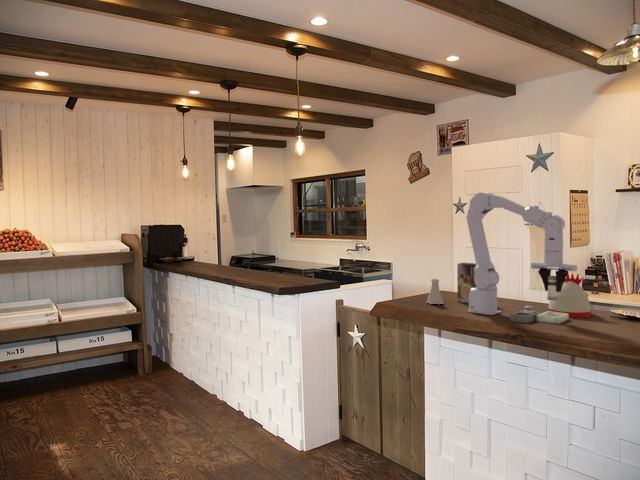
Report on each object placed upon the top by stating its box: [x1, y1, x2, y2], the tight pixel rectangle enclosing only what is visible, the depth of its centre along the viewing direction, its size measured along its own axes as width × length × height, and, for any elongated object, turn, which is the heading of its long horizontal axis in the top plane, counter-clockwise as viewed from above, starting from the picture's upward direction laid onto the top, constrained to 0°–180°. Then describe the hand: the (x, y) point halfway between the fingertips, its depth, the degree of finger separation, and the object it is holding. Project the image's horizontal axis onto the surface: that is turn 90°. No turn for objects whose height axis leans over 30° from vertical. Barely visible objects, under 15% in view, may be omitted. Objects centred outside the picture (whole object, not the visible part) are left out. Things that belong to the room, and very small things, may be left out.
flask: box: [425, 278, 445, 306], centre depth 203 cm, size 7×7×10 cm
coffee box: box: [456, 262, 477, 304], centre depth 206 cm, size 9×6×16 cm
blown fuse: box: [546, 275, 558, 301], centre depth 169 cm, size 3×3×8 cm
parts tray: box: [535, 310, 570, 325], centre depth 169 cm, size 7×10×2 cm
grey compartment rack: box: [509, 305, 542, 324], centre depth 171 cm, size 6×11×4 cm, turn 134°
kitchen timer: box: [547, 272, 592, 318], centre depth 181 cm, size 14×14×15 cm
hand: (553, 291), depth 169 cm, fingers closed on blown fuse, 3 cm apart
